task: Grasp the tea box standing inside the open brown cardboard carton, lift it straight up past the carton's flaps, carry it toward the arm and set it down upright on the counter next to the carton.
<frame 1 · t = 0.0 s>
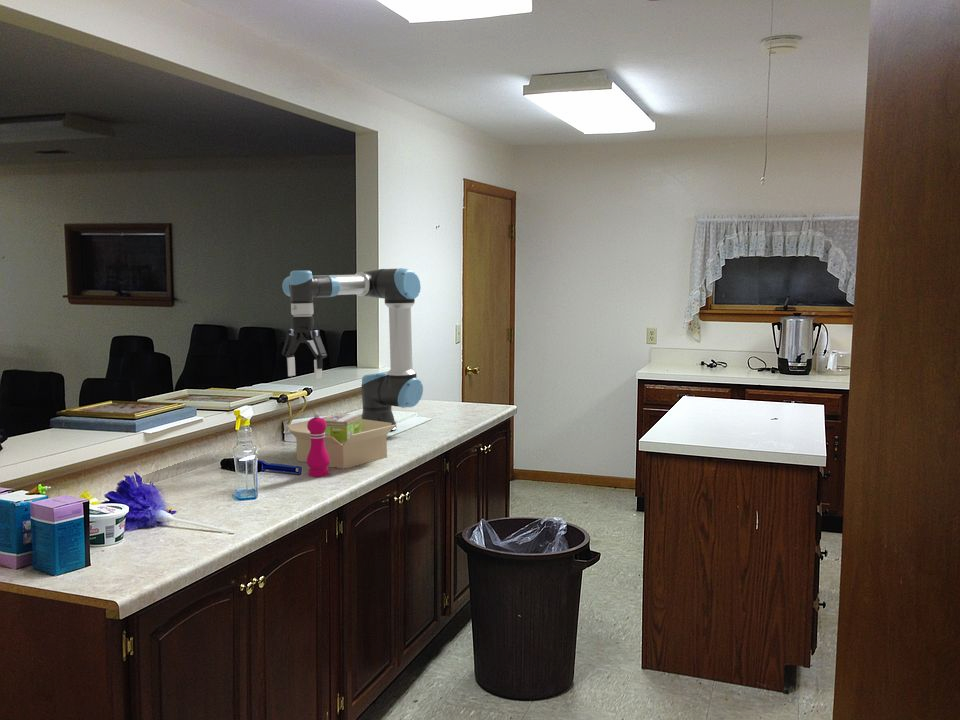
hand: (304, 377, 290), 28 cm above the countertop, tool pointing down, fingers open, 13 cm apart
pepper mill: (318, 475, 267), on the countertop
tea box: (342, 459, 289), resting in carton
carton: (342, 458, 289), on the countertop
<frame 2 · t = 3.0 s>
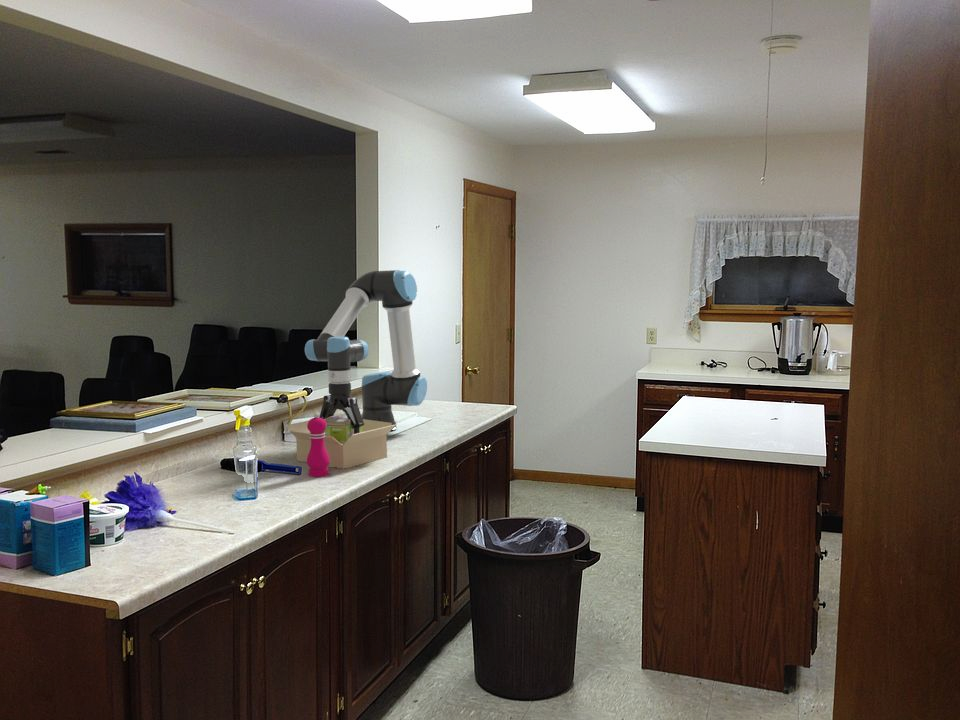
hand: (341, 444, 288), 5 cm above the countertop, tool pointing down, fingers closed on tea box, 12 cm apart
tea box: (342, 459, 289), resting in carton, touching gripper
everything else where it was.
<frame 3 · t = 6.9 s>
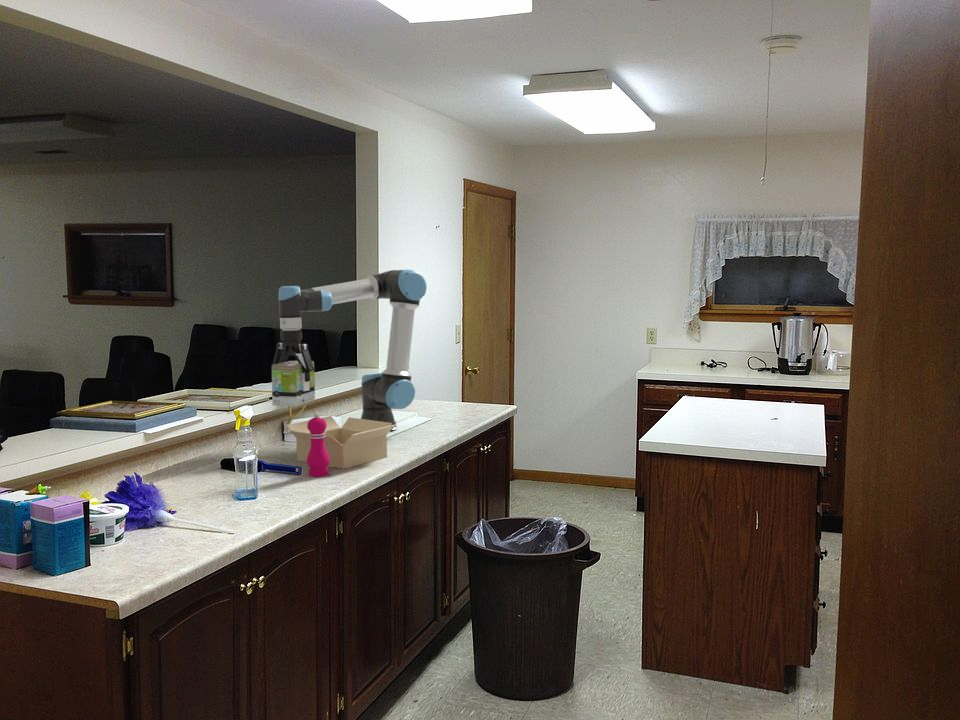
hand: (293, 389, 302), 22 cm above the countertop, tool pointing down, fingers closed on tea box, 12 cm apart
tea box: (294, 403, 302), point 17 cm above the countertop, touching gripper
everything else where it was.
when the fingers open (6 cm above the countertop, at t = 10.9 s): tea box drops 1 cm, on the countertop.
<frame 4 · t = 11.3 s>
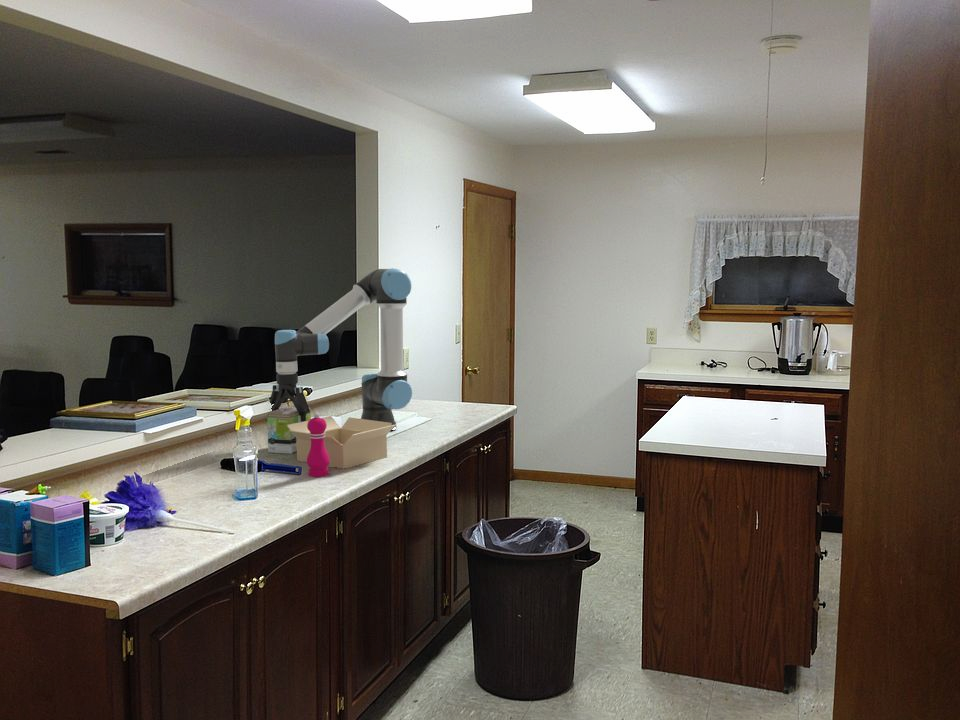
hand: (289, 430, 306), 7 cm above the countertop, tool pointing down, fingers open, 13 cm apart
tea box: (290, 449, 306), on the countertop
everything else where it was.
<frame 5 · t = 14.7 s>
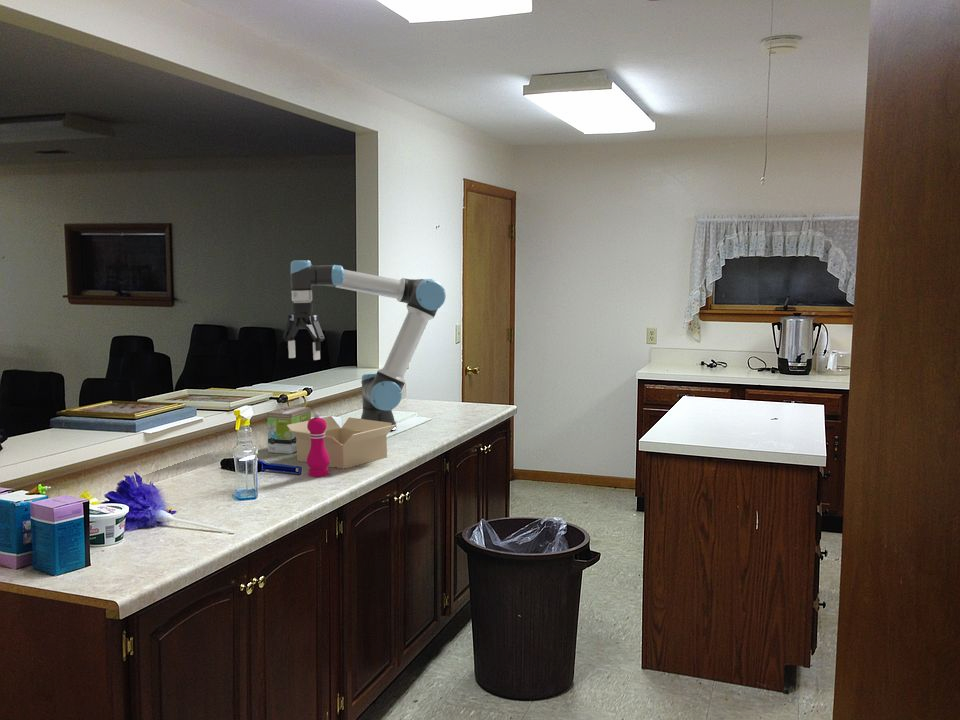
hand: (304, 358, 315), 32 cm above the countertop, tool pointing down, fingers open, 13 cm apart
nothing on the countertop moved.
at the end: tea box inside the target area (0.5 cm from its centre), on the countertop; tea box tilted 0°; the gripper is holding nothing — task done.
